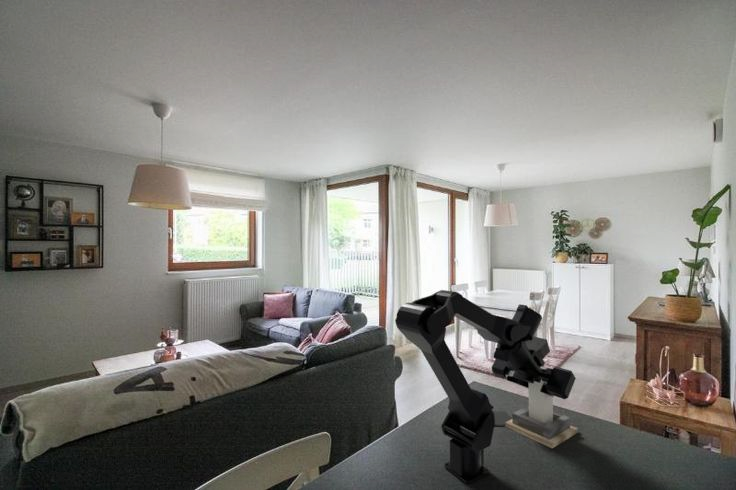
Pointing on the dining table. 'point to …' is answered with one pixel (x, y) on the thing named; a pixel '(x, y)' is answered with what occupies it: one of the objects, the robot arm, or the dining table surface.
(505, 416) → the smartphone
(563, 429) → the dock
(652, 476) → the dining table surface
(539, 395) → the block
